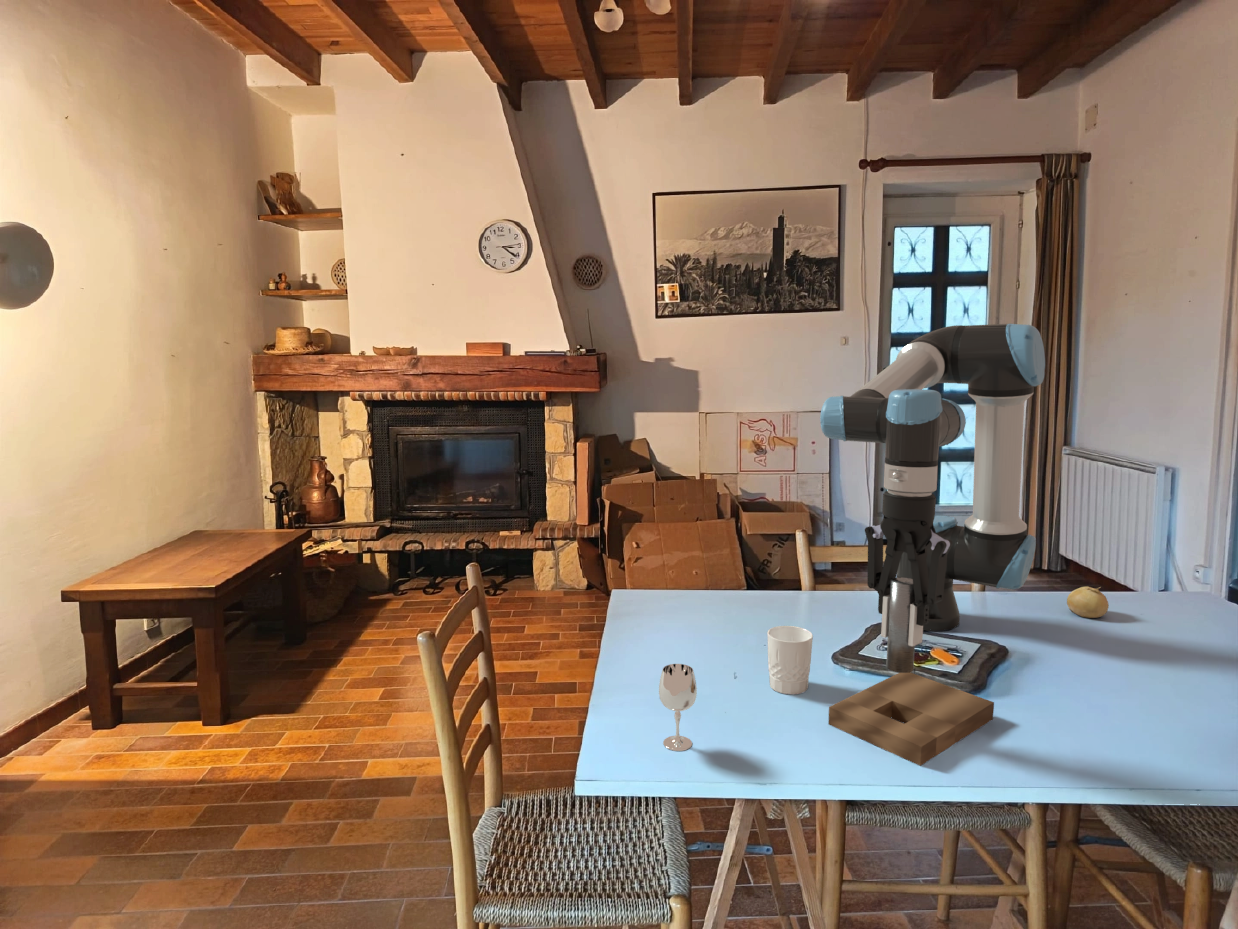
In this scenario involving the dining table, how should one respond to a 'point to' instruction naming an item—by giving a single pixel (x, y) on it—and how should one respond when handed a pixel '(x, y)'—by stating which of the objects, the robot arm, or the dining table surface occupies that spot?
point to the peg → (900, 626)
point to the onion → (1087, 602)
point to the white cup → (789, 658)
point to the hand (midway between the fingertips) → (901, 639)
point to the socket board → (911, 716)
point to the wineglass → (677, 699)
